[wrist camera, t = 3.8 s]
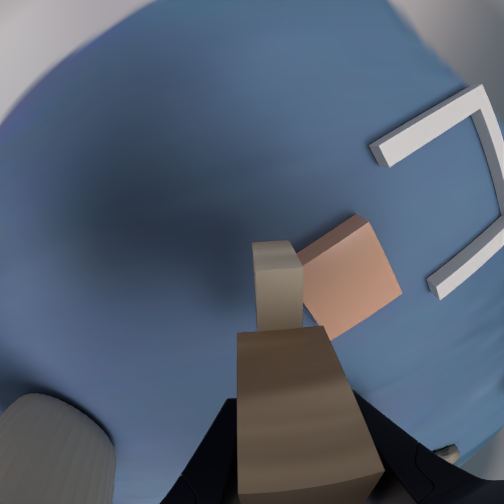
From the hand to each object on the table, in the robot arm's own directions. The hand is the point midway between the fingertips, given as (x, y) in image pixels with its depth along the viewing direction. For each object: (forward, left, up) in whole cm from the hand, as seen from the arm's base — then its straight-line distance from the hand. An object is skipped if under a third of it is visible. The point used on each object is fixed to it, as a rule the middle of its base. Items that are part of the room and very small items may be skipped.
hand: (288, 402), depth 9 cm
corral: (-4, -15, -12) cm, 19 cm away
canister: (-5, +30, -12) cm, 32 cm away
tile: (-4, -4, -12) cm, 13 cm away
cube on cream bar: (0, 0, -5) cm, 5 cm away
